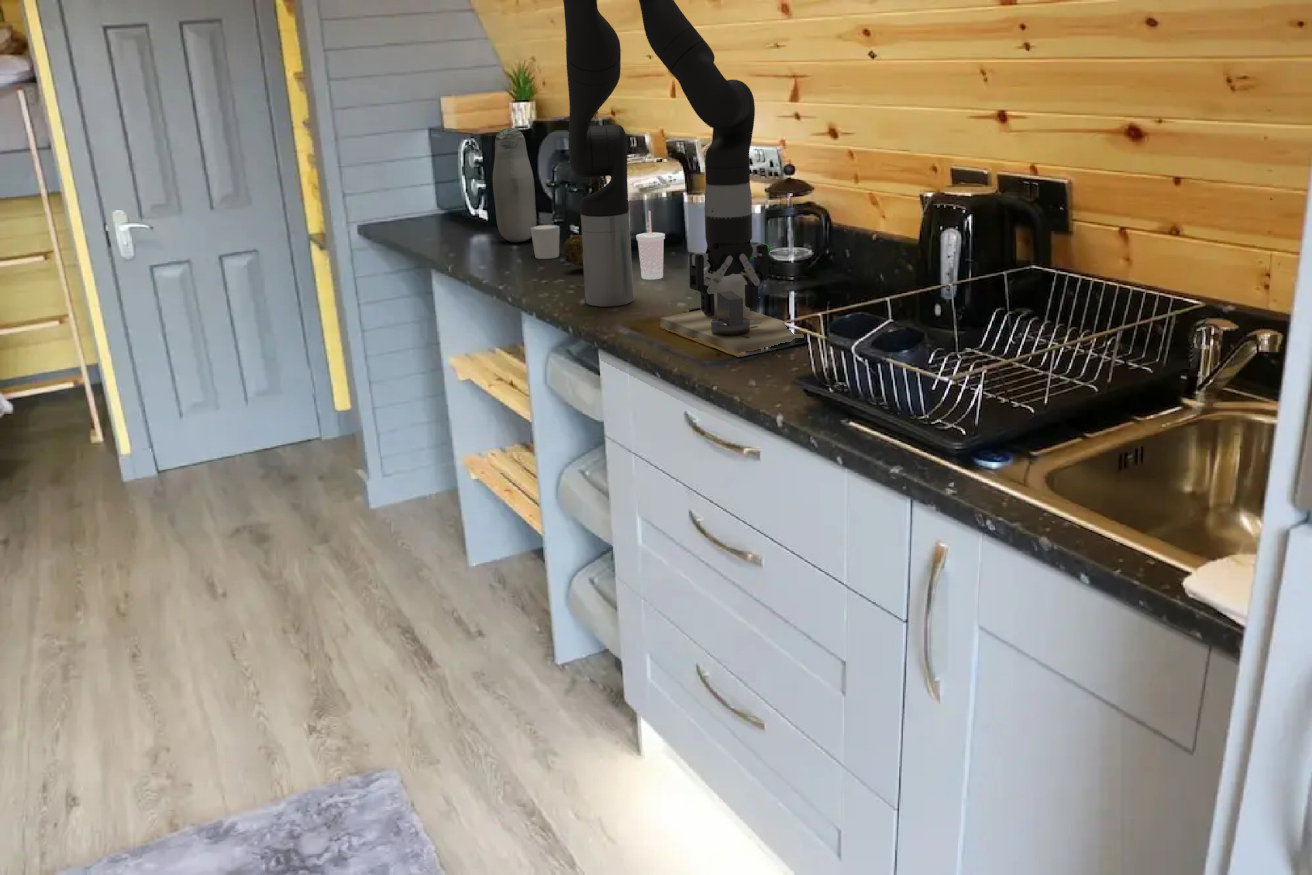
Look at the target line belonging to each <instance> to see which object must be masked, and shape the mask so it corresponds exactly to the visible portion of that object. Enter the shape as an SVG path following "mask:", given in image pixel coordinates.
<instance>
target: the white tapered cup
mask: <svg viewBox="0 0 1312 875" xmlns="http://www.w3.org/2000/svg"><path fill="white" fill-rule="evenodd" d="M530 229H531V235H532V237H531V238H532V246H533V251H534V256H535V258H536V259H539V260H549V259H550V260H551V259H555V258H559V257H560V225H556V224H540V225H536V226H534V227H531V228H530Z"/></svg>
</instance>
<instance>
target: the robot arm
mask: <svg viewBox="0 0 1312 875" xmlns="http://www.w3.org/2000/svg"><path fill="white" fill-rule="evenodd" d="M562 2H563V9H564V10H563V11H564V12H563V13H564V24H565V26H564V27H565V54H566V56H565V58H566V60H565V62H566V74H567V75H566V76H567V86H568V100H569V104H568V105H569V116H568V117H569V118H568V119H569V120H568V121H569V122H568V160H569V165H570V169H571V171H572V172H573V174H574V175H575V176H576V177H582V178H595V177H598V178H599V177H610V180H609V182H608V183H607V184H605V185H604V186H603V187H602V188H600V189H599V190H597V191H595V192H592V193H590V194H588V195H586V196H584V197H582V198H581V200H580V202H579V210H580V223H581V235H582V242H583V266H582V269H583V283H584V284H583V285H584V298H585V302H586V304H587V305H589V306H594V307H595V306H596V307H617V306H624V305H627V304H630V303H632V302H634V286H633V285H634V284H633V280H634V279H633V264H632V262H633V261H632V245H631V244H632V241H631V228H630V226H631V225H630V206H629V193H628V192H629V190H628V189H629V187H628V138H627V133H626V131H625V128H624V127H623V126H622V125H619V124H604V125H602V124H601V125H599V124H598V125H591V122H592V120H593V118H594V116H595V115H596V113H597V112H598V111H599V110H600V109H601V107H602V106H603V105H604V104H605V102H607V100H608V99H609V98H610V96H611V95H612V93H613V92H614V91H615V89H616V87H617V86H618V84H619V81H620V78H621V67H622V66H621V55H622V54H621V52H622V51H621V40H620V39H619V36H618V34H617V32H616V30H615V28H614V27H613V26H612V25H611V24H610V23H609V21H608V20H607V19H606V18H605V17H604V16H603V15H602V14H601V13H600V11H599V9H598V8H599V7H598V0H562ZM638 2H639V7H640V11H641V18H642V24H643V29H644V32H645V36H646V39H647V42H648V44H649V46H650V47H651V49H652V51H653V53H654V54H655V55H656V57H657V58H658V59H659V60H660V61H661V63H662V64H663V65H664V66H665V68H666V69H667V70H668V72H670V73H671V76H673V77H674V78H675V79H676V80H677V82H678V83H679V86H680V88H681V90H682V92H683V94H684V95H685V97H686V99H687V101H688V102H689V105H690V107H692V110H693V111H694V112H695V114H696V115H697V117H698V118H700V121H702V122H704V124H706V126H708V127H710V128H712V137H711V138H712V139H711V144H710V145H709V146H708V148H707V150H706V151H705V159H704V163H705V164H704V166H705V167H704V170H705V171H704V173H705V174H704V175H705V190H704V226H705V227H704V229H705V230H704V231H705V234H704V237H705V242H706V250H705V252H701V253H698V252H690V253H689V257H688V258H689V263H688V264H689V269H688V270H689V272H688V273H689V276H688V277H689V289H691V290H693V291H697V292H699V293H700V304H701V305H700V307H701V308H700V310H702V312H704V314H705V315H707V316H714V314H715V311H714V294H713V291H714V289H715V287H716V285H717V283H719V282H720V281H721V279H722V278H723V276H730V275H732V274H740V275H742V277H743V278H744V280H745V281H746V283H747V285H745V306H746V307H748V308H750V310H752V309H756V307H757V305H758V302H759V299H758V285H759V284H760V282H762V281H763V280H764V281H768V279H769V277H770V276H769V275H770V274H769V271H770V270H769V256H768V246H767V245H768V244H767V245H765V244H766V243H764V244H762V243H763V242H759V243H755V244H754V245H751V243H750V242H751V241H752V239H753V211H752V210H753V203H752V202H753V199H752V189H751V177H750V176H751V174H750V172H751V167H750V165H751V162H750V150H751V144H752V139H753V134H754V126H755V125H754V124H755V115H756V114H755V113H756V108H755V107H756V106H755V99H754V95H753V93H752V92H753V91H752V90H751V88H750V87H749V86H748V85H747V83H745V82H744V81H741V80H738V79H727V78H725V77H724V75H723V74H722V73H721V71H720V69H719V68H718V66H717V65H716V64H715V54H714V51H713V50H712V48H711V47H710V46H709V44H708V43H707V42H706V40H705V39H704V38H703V36H702V35H701V33H699V32H698V30H697V29H696V28H695V26H694V25H693V24H692V23H691V22H690V20H688V18H687V17H686V15H685V14H684V13H683V11H681V9H680V7H679V6H678V5H677V2H675V0H638ZM751 255H753V257H754V269H753V267H752V266H751V264H750V263H749V259H750V257H751ZM706 262H707V263H708V266H707V263H706ZM705 266H706V267H707V269H706V271H705V273H704V268H705ZM714 271H715V274H713V273H714Z"/></svg>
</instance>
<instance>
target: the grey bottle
mask: <svg viewBox="0 0 1312 875" xmlns="http://www.w3.org/2000/svg"><path fill="white" fill-rule="evenodd" d="M495 136H496V137H495V141H494V163H493V170H492V188H493V189H492V190H493V198H494V200H493V201H494V207H495V216H496V225H497V228H498V229H497V230H498V231H499V233H500V235H501V236H502V238H503V239H505V240H506V241H508V242H510V243H521V242H523V243H524V242H526V241H528V240H530V239H531V238H532V235H531V229H530V228H531V227H534V226H537V208H536V207H537V205H536V192H535V178H534V173H533V169H532V166H531V162H530V159H529V156H528V155H529V154H528V150H527V144H526V139H525V136H524V134H523V133H522V132H521V131H520V130H519V129H518V128H513V127H511V128H510V127H509V128H503V129H500V131H499V132H497V134H496V135H495Z"/></svg>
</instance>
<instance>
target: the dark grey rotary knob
mask: <svg viewBox="0 0 1312 875" xmlns="http://www.w3.org/2000/svg"><path fill="white" fill-rule="evenodd" d="M717 307H718V318H716V319H714V320H712V321H711V332H712V333H715V334H719V335H740V334H744V333H747V332H749V331H750V325H755V324H761V320H749V319H747V318H743V298H742V297H740V296H738V295H737V294H735V293H734V292H732V291H724V292H717Z"/></svg>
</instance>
